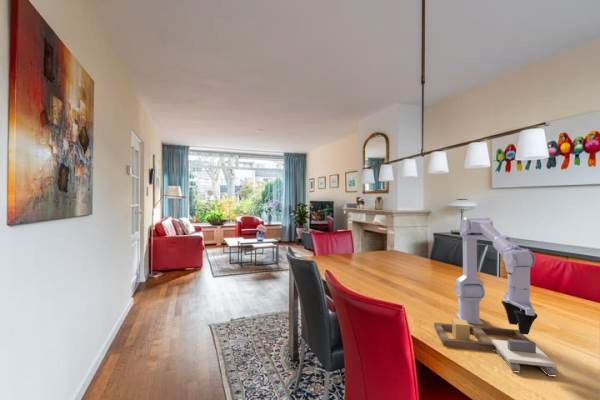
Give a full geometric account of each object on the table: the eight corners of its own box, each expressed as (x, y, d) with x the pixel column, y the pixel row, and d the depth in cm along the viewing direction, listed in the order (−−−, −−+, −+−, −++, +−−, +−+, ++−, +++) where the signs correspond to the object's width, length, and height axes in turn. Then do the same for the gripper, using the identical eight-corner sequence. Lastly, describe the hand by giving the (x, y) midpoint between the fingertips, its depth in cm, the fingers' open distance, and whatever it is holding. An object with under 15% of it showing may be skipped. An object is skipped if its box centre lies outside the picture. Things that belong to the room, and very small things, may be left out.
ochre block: (452, 334, 108) (452, 319, 108) (465, 336, 107) (465, 320, 107) (455, 340, 104) (455, 324, 104) (469, 342, 103) (469, 325, 103)
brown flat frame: (434, 327, 114) (434, 322, 114) (518, 335, 107) (518, 329, 107) (453, 365, 89) (453, 358, 89) (564, 378, 82) (564, 371, 82)
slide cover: (492, 342, 98) (492, 330, 98) (532, 346, 95) (532, 334, 95) (508, 362, 86) (508, 349, 86) (555, 367, 83) (556, 353, 83)
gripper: (494, 279, 100) (494, 318, 100) (515, 293, 86) (515, 338, 86) (517, 280, 99) (517, 320, 99) (543, 295, 84) (542, 340, 85)
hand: (518, 328), depth 92 cm, fingers open, 6 cm apart
